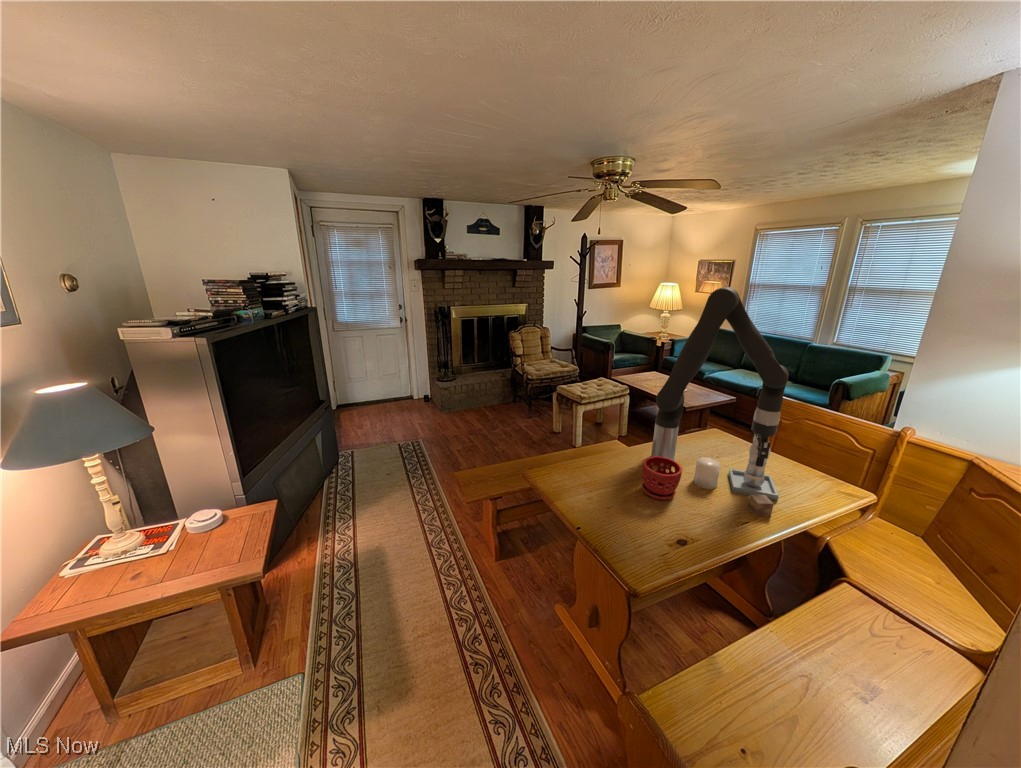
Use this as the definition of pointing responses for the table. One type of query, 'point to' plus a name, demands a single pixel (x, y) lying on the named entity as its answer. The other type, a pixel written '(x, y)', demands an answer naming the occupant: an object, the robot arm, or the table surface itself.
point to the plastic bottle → (754, 468)
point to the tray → (743, 488)
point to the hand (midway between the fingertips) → (756, 460)
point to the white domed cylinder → (706, 473)
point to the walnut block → (760, 505)
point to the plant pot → (660, 477)
